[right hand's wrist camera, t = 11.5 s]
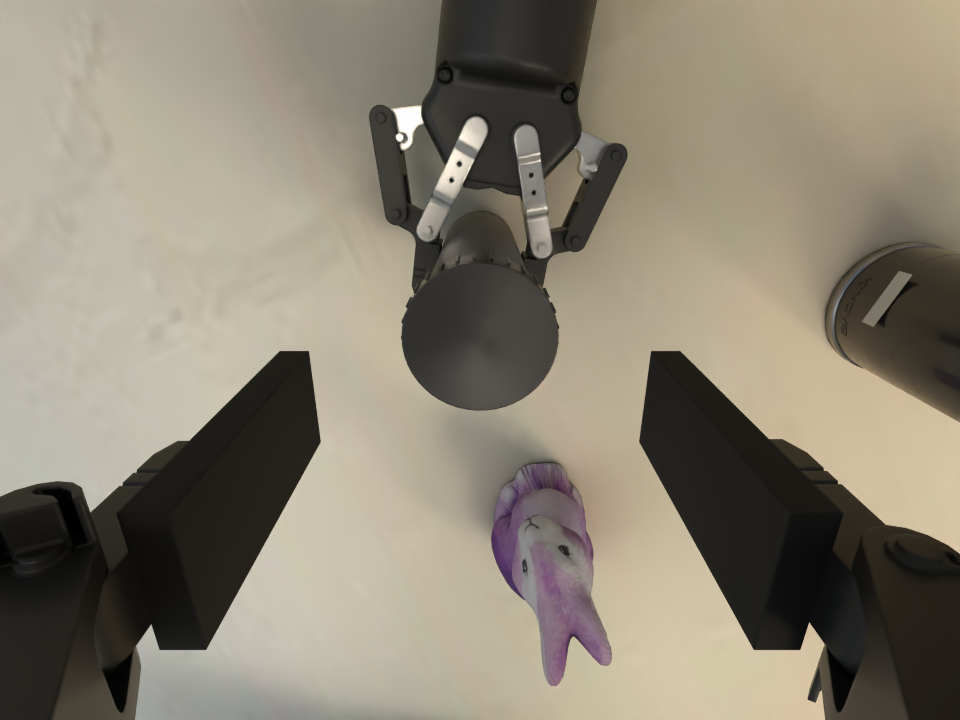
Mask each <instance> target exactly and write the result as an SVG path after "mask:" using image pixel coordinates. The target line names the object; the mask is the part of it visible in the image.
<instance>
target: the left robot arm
mask: <svg viewBox="0 0 960 720" xmlns="http://www.w3.org/2000/svg"><path fill="white" fill-rule="evenodd" d="M596 3H597V0H442V6H441V16H440V26H439V36H438V46H437V56H436V66H435V75H434V80H433V83H432V86H431V88H430V90H429V92H428V93H427V95H426V96H425V98H424V100H423V102H422V105H416V106H407V107H399V108H388V107H386V106H384V105H377V106H375V107H373V108H372V109H371V111H370V114H369V120H370V126H371V132H372V138H373V144H374V150H375V156H376V163H377V169H378V175H379V181H380V187H381V193H382V199H383V205H384V211H385V216H386V219H387V220H388V222H390V223H391V224H393V225H398V226H400V227H402V228H404V229H406V230H408V231H409V232H410V233H412V235H413V236H414V238H415V241H416V249H415V259H414V269H413V279H412V287H413V291H414V290H415V288H416V286H417V284H418V283H419V284H421V282H422V281H423V280H424V279H425V277H426V275H427V273H428V272H429V271H430V272H432V271H433V270H434V268H435V265H436V263H437V260H438V257H439V255H440V252H441V250H442V242H443V239H439V238H440V230H441V228H442V226H443V224H444V222H445V219H446V217H447V215H448V213H449V211H450V209H451V207H452V205H453V203H454V201H455V199H456V197H457V195H458V193H459V191H460V189H461V187H462V185H463V187H465V188H471V189H485V188H495V189H497V190H499V191H501V192H503V193H506V194H511V195H517V196H519V197H520V203H521V209H522V213H523V218H524V224H525V230H526V236H527V245H526V251H522V253H521V257H522V260H523V262H524V265H525V267H526V270H527V271H528V272H529V273H530V274H531V275H532V276H534V275H536V276H537V278H538V281H539V283H540V285H541V286H542V288H543V283H544V278H545V273H546V267H547V263H548V261H549V259H550V258H551V257H552V256H553V255H555V254H558V253H562V252H567V251H572V252H578V251H580V250H582V249H583V248H584V247H585V245H586V243H587V241H588V239H589V236H590V234H591V232H592V230H593V228H594V226H595V224H596V222H597V220H598V218H599V216H600V214H601V211H602V209H603V207H604V205H605V203H606V201H607V199H608V197H609V195H610V193H611V191H612V189H613V187H614V184H615V182H616V180H617V178H618V176H619V174H620V172H621V170H622V168H623V166H624V164H625V162H626V159H627V150H626V148H625V147H624V146H623V145H622V144H619V143H608V142H605V141H603V140H601V139H599V138H597V137H595V136H592V135H590V134H588V133H586V132H584V131H582V125H581V121H580V117H579V113H578V96H579V91H580V86H581V81H582V75H583V70H584V65H585V60H586V55H587V50H588V44H589V39H590V34H591V29H592V24H593V19H594V13H595V8H596ZM422 125H425V127H426V129H427V131H428V133H429V135H430V137H431V139H432V141H433V143H434V145H435V147H436V149H437V150H438V152H439V154H440V156H441V158H442V160H443V162H444V164H445V168H444V170H443V172H442V174H441V176H440V178H439V180H438V183H437V185H436V187H435V189H434V191H433V193H432V196H431V198H430V200H429V203H428V205H427V207H426V209H425V211H423V210H422V209H420V208H418V207H416V206H414V205H412V203H411V196H410V189H409V182H408V175H407V168H406V161H405V154H404V150H408V149H410V148H411V147H412V146H413V145H414V142H415V133H416V131H417V129H418V128H419V127H420V126H422ZM573 149H574V150H575V151H576V152H577V154H578V158H579V160H578V164H577V172H578V174H579V175H580V176H581V177H583V178H584V179H583V181H582V183H581V185H580V187H579V190H578V192H577V194H576V196H575V198H574V200H573V203H572V205H571V207H570V209H569V211H568V214H567V216H566V218H565V220H564V222H563V224H562V227H558V228H553V229H550V225H549V218H548V205H547V198H546V191H545V185H544V179H545V178H546V177H547V176H548V175H549V174H550V173H551V172H552V171H553V170H554V168H555V167H556V166H557V165H558V164H559V163H560V162H561V161H562V160H563V159H564V158H565V157H566V156H567V155H568V154H569V153H570V152H571V151H572V150H573ZM414 294H415V293H414ZM826 330H827V335H828V338H829V341H830V343H831V345H832V346H833V348H834V349H835V351H836V352H837V353H838V354H839V355H840V356H841V357H843V358H844V359H845V360H847V361H849V362H851V363H852V364H854V365H856V366H858V367H861V368H863V369H866V370H868V371H869V372H871V373H873V374H875V375H877V376H878V377H880V378H882V379H883V380H885V381H887V382H889V383H890V384H892V385H894V386H896V387H897V388H899V389H901V390H903V391H905V392H906V393H908V394H910V395H912V396H914V397H915V398H917V399H919V400H921V401H922V402H924V403H926V404H928V405H930V406H931V407H933V408H935V409H937V410H939V411H940V412H942V413H944V414H946V415H947V416H949V417H951V418H953V419H955V420H956V421H958V422H960V253H958V252H953V251H948V250H945V249H943V248H940V247H937V246H932V245H927V244H922V243H901V244H896V245H892V246H889V247H886V248H883V249H881V250H879V251H877V252H874V253H873V254H871V255H869V256H867V257H866V258H865V259H863V260H862V261H860V262H859V263H858V264H857V265H855V266H854V267H853V268H852V269H851V270H850V271H849V272H848V273H847V274H846V275H845V277H844V278H843V279H842V280H841V282H840V283H839V285H838V286H837V288H836V290H835V291H834V293H833V295H832V297H831V300H830V303H829V306H828V310H827V315H826Z"/></svg>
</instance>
